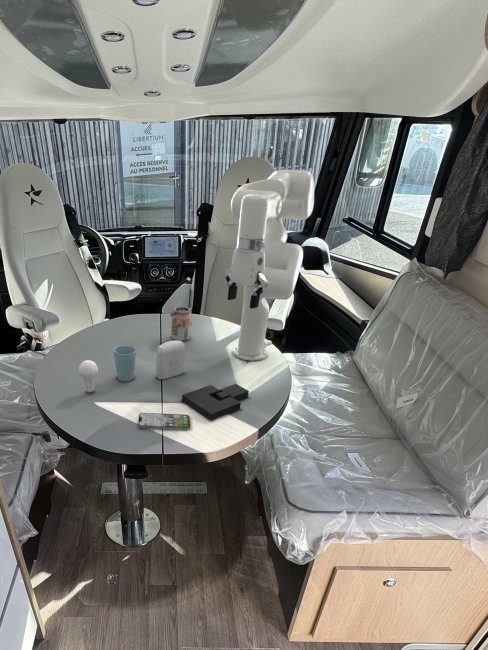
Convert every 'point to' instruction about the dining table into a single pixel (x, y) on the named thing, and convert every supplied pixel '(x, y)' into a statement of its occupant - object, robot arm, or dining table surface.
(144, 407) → the dining table surface
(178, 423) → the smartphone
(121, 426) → the dining table surface
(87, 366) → the lightbulb
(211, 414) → the base pad
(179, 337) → the beverage can
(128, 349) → the cup
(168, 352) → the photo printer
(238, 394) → the tab pad
